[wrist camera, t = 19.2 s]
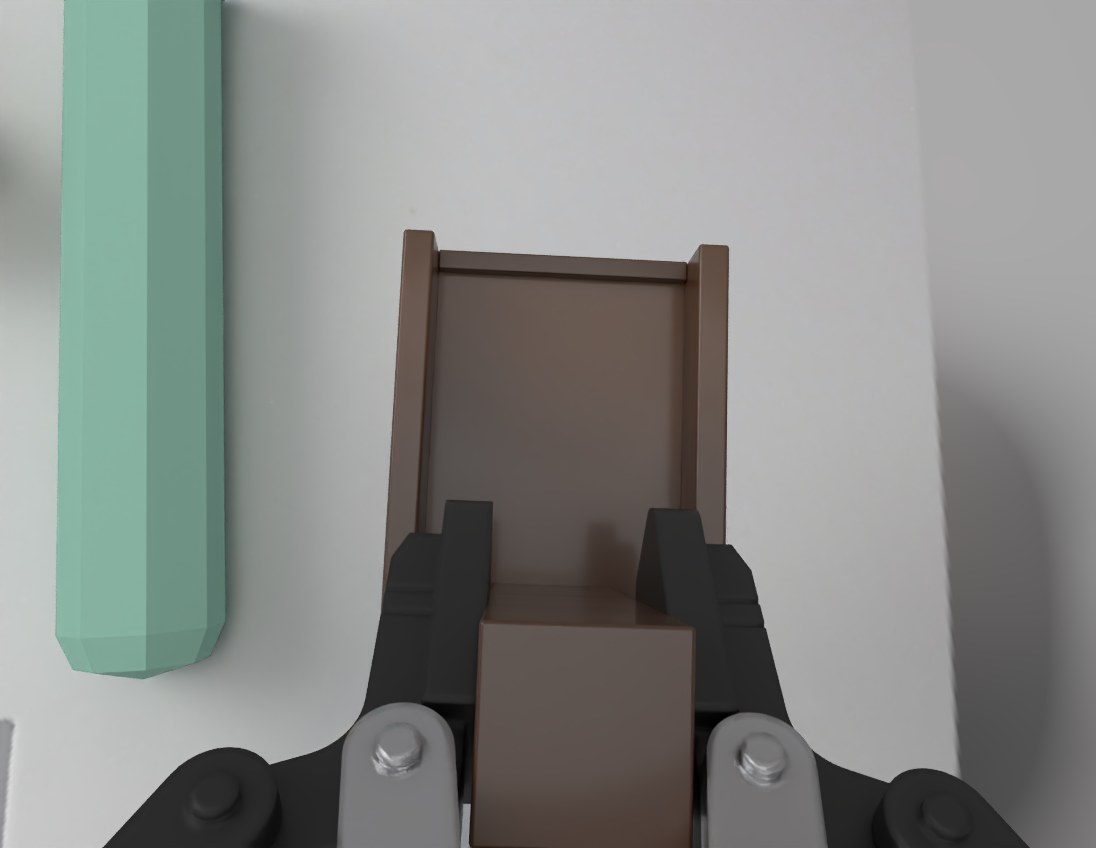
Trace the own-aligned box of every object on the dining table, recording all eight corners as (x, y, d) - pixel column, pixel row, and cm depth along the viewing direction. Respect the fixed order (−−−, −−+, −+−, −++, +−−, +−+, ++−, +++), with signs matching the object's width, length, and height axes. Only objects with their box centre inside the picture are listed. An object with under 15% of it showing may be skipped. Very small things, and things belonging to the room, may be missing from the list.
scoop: (414, 261, 20) (336, 27, 11) (706, 275, 20) (869, 59, 11) (388, 712, 18) (275, 876, 9) (700, 721, 19) (878, 889, 10)
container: (147, 699, 25) (149, -128, 28) (-9, 695, 27) (7, -78, 30) (277, 664, 31) (268, -22, 33) (139, 664, 33) (142, 14, 35)
